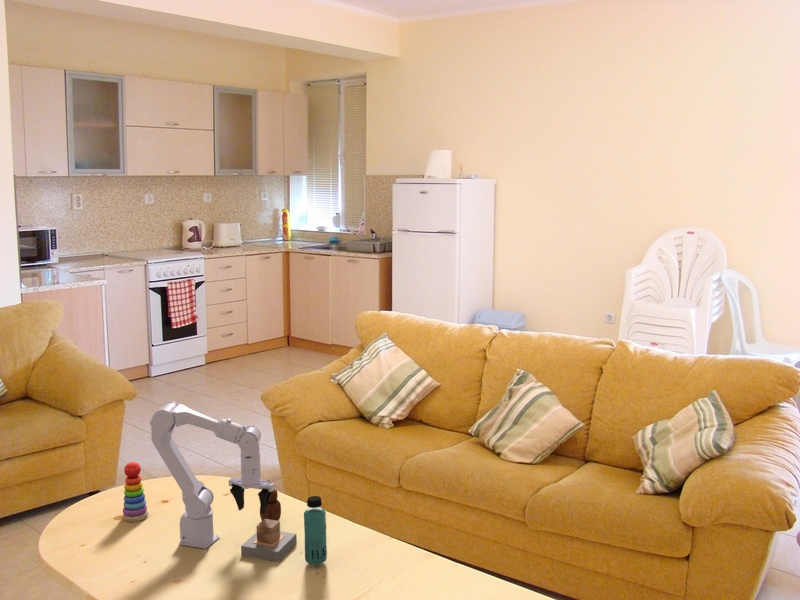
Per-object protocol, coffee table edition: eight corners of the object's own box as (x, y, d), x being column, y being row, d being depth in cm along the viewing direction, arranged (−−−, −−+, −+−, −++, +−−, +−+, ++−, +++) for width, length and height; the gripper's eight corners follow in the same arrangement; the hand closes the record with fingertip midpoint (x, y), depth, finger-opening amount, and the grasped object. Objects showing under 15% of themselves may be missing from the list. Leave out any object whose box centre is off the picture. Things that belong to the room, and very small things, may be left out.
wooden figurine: (269, 529, 241) (267, 483, 238) (256, 524, 244) (255, 479, 242) (284, 521, 246) (283, 477, 244) (272, 516, 250) (270, 473, 247)
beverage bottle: (309, 572, 214) (307, 504, 211) (301, 561, 220) (299, 495, 217) (331, 566, 217) (329, 499, 214) (322, 556, 223) (320, 491, 220)
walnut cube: (257, 541, 225) (256, 525, 225) (265, 534, 230) (264, 518, 229) (272, 544, 224) (271, 528, 223) (280, 536, 229) (279, 521, 228)
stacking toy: (153, 516, 251) (150, 461, 248) (133, 525, 244) (130, 469, 241) (137, 510, 255) (134, 456, 252) (117, 519, 248) (113, 464, 245)
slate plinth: (241, 555, 224) (240, 545, 223) (261, 537, 235) (260, 527, 235) (278, 561, 220) (277, 551, 220) (296, 543, 231) (296, 533, 231)
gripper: (222, 469, 228) (224, 512, 230) (265, 475, 223) (267, 519, 225) (234, 461, 234) (236, 503, 236) (277, 466, 230) (278, 509, 232)
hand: (252, 510), depth 231 cm, fingers open, 7 cm apart
